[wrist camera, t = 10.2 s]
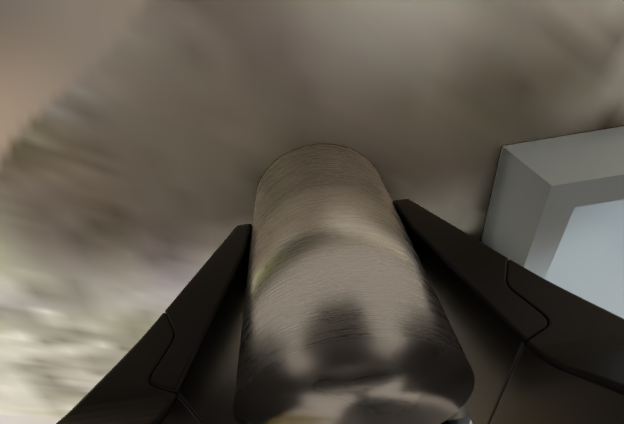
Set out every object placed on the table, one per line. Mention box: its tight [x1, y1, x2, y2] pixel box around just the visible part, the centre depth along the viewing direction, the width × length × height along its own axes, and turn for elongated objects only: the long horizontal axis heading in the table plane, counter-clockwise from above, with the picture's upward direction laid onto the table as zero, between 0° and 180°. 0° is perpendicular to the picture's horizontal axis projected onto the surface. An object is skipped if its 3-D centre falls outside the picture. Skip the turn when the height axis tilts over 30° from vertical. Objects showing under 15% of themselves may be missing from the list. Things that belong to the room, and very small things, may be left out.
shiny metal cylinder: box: [233, 144, 475, 424], centre depth 8 cm, size 4×4×6 cm
